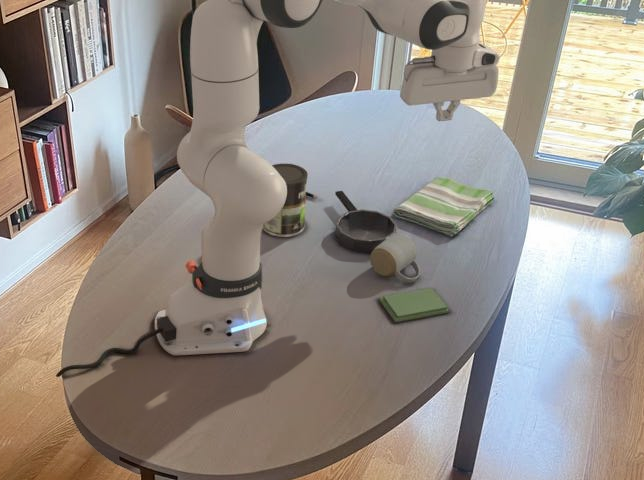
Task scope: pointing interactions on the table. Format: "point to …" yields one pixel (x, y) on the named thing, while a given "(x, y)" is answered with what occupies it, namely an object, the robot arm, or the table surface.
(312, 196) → the fountain pen
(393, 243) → the ceramic mug
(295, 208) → the coffee can
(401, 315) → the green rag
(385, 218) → the steel pan
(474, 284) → the table surface
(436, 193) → the dish towel
